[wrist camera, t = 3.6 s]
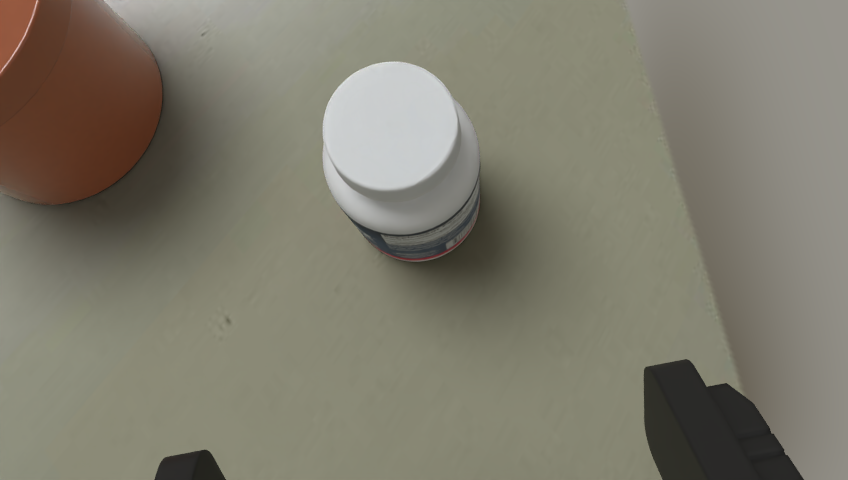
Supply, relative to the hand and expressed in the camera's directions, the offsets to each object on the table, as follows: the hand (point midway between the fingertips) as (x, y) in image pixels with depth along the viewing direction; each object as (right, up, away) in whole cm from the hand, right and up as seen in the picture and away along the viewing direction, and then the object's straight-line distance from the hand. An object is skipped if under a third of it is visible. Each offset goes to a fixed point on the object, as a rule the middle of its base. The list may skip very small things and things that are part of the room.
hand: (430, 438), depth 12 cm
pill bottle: (0, +5, +16) cm, 17 cm away
